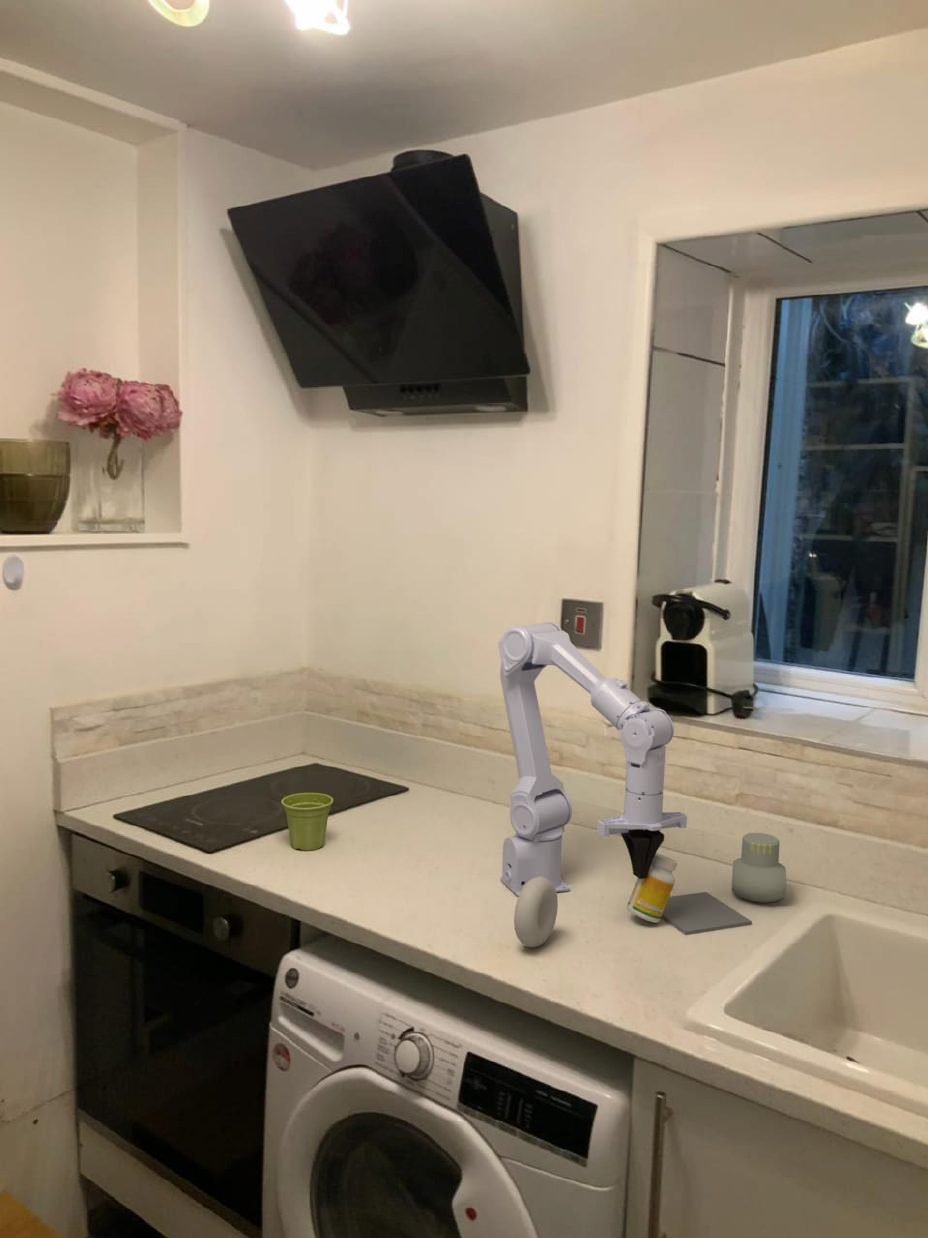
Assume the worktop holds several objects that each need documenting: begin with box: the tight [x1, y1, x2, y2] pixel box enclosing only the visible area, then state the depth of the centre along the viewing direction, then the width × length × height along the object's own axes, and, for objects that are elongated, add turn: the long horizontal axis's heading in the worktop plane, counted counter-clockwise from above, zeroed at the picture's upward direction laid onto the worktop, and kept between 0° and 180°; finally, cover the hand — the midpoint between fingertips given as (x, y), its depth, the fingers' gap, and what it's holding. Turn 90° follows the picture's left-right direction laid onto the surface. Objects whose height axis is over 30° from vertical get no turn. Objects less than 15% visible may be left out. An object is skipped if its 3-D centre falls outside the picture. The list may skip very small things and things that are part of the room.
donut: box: [513, 877, 559, 948], centre depth 141 cm, size 10×4×10 cm, turn 149°
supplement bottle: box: [626, 852, 678, 924], centre depth 150 cm, size 5×5×10 cm
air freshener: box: [731, 832, 787, 903], centre depth 161 cm, size 11×8×10 cm
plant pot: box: [281, 792, 334, 852], centre depth 179 cm, size 9×9×9 cm
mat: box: [661, 891, 753, 936], centre depth 153 cm, size 12×12×1 cm
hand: (640, 876), depth 149 cm, fingers closed
